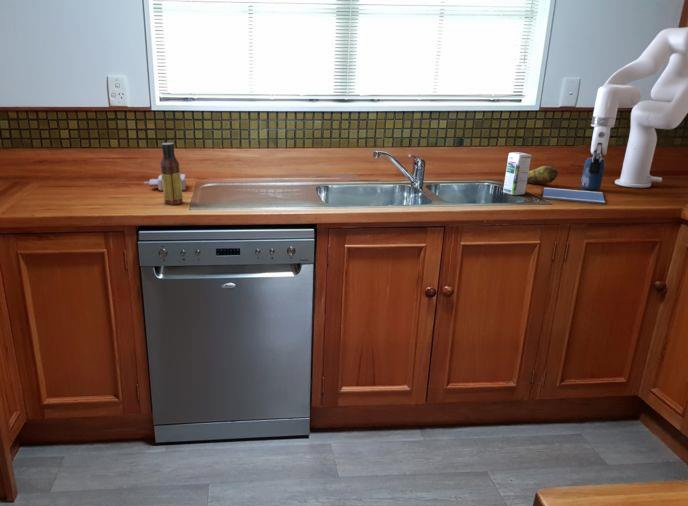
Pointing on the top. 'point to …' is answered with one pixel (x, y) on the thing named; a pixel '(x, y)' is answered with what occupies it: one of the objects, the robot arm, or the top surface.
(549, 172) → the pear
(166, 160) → the sauce bottle
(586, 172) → the soda can
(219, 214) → the top surface
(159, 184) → the charger
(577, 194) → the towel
